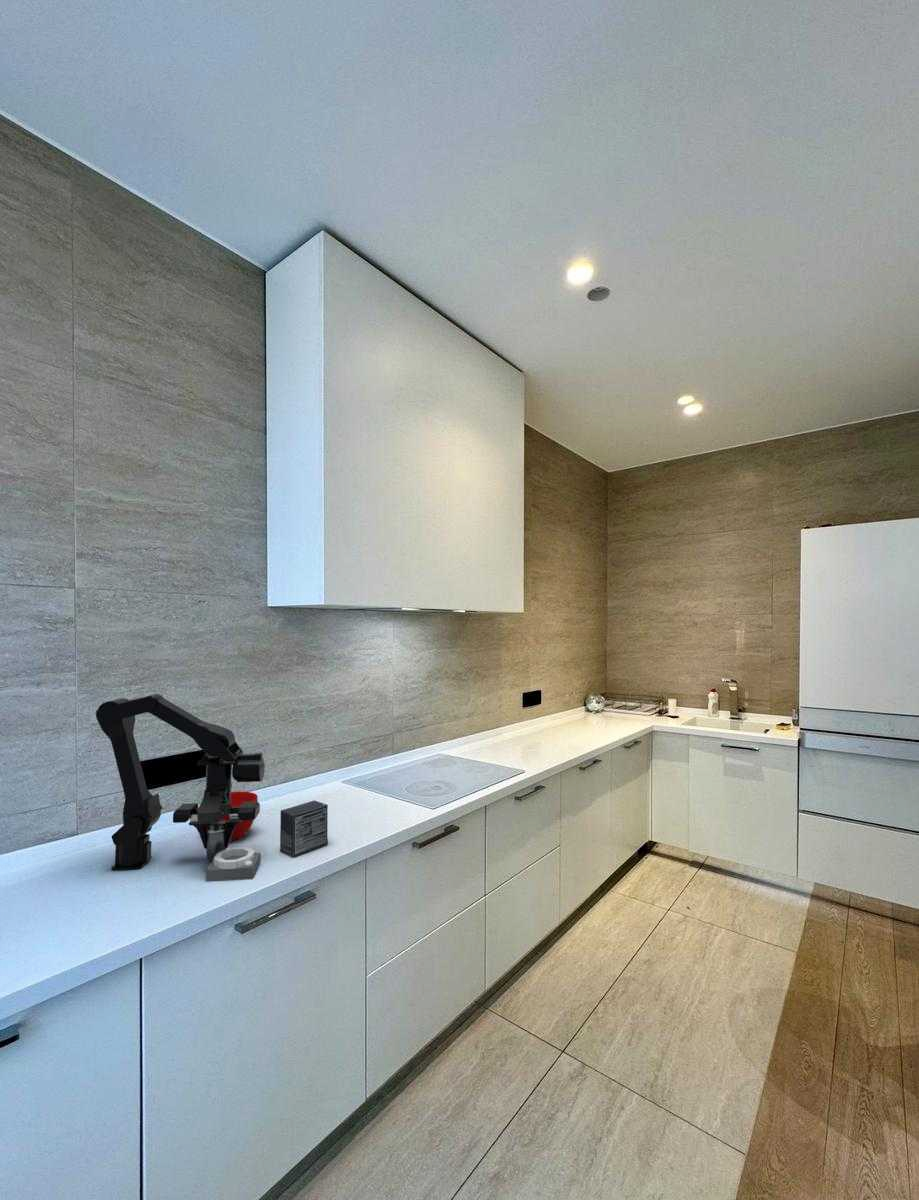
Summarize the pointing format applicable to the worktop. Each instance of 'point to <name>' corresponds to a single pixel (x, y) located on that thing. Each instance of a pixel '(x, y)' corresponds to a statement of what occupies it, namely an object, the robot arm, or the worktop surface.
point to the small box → (303, 828)
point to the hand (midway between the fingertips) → (216, 847)
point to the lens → (216, 838)
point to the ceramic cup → (236, 802)
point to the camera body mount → (233, 864)
